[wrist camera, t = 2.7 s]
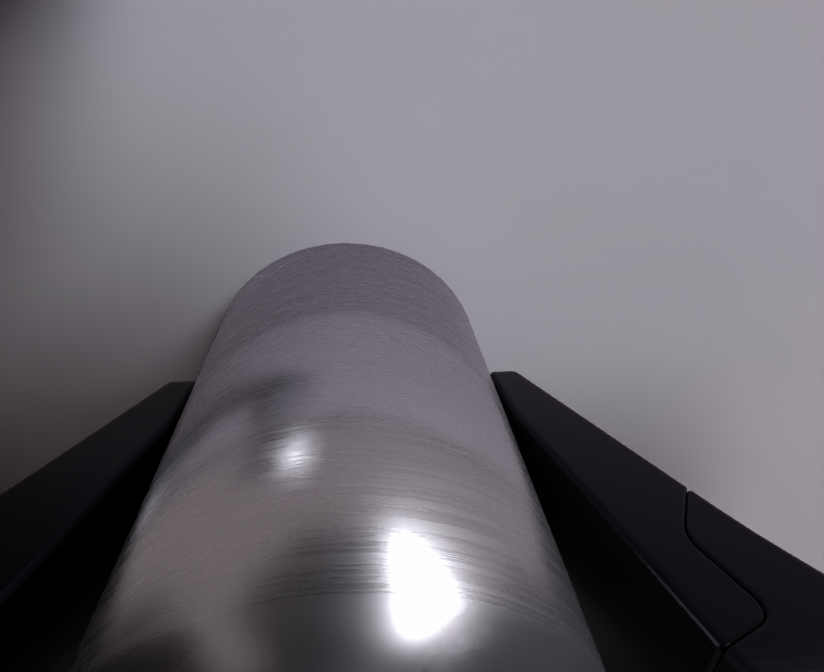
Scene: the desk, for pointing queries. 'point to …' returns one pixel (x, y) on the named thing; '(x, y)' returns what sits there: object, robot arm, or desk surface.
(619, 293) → the desk surface
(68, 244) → the desk surface
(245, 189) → the desk surface
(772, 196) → the desk surface
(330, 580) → the cylinder
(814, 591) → the robot arm
